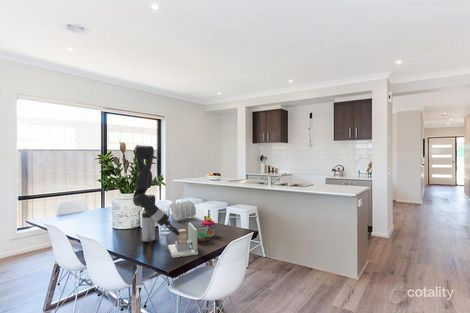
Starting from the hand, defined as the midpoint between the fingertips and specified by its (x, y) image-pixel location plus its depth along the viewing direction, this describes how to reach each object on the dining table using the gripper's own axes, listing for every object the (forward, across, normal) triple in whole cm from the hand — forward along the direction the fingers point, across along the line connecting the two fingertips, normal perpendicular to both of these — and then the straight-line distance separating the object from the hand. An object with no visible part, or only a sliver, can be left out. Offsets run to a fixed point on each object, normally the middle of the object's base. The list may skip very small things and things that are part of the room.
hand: (177, 232), depth 178 cm
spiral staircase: (+25, +86, -6) cm, 90 cm away
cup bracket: (+11, 0, +6) cm, 12 cm away
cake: (+29, +25, -11) cm, 40 cm away
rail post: (+10, 0, +5) cm, 11 cm away
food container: (+23, +14, -5) cm, 27 cm away
